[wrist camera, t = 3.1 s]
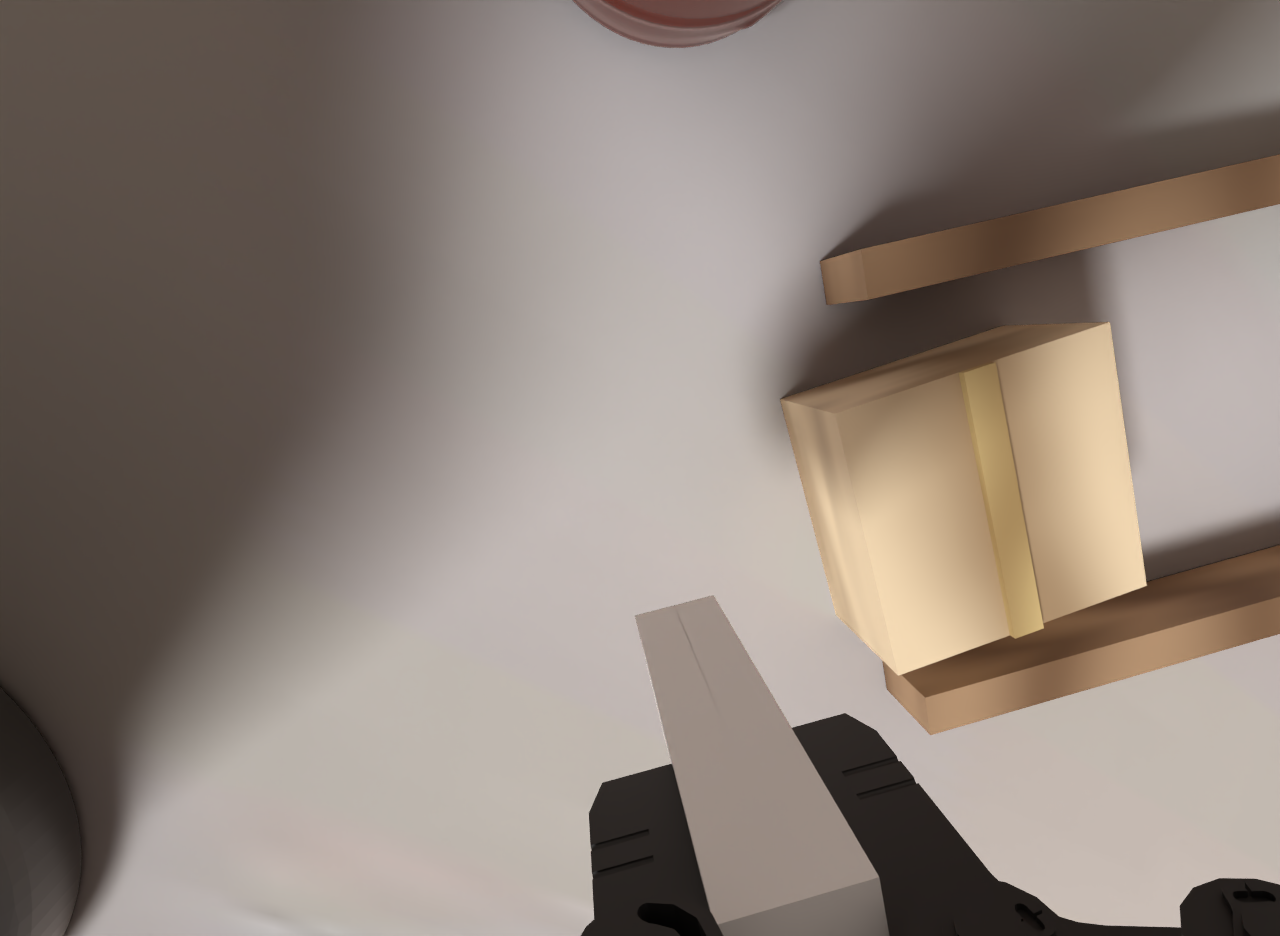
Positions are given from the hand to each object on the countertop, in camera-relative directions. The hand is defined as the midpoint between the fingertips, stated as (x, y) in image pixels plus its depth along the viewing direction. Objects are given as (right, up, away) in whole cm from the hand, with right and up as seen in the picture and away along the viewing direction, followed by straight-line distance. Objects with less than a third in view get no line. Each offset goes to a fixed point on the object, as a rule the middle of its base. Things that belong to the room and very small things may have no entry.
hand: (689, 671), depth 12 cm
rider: (+7, +4, +8) cm, 11 cm away
